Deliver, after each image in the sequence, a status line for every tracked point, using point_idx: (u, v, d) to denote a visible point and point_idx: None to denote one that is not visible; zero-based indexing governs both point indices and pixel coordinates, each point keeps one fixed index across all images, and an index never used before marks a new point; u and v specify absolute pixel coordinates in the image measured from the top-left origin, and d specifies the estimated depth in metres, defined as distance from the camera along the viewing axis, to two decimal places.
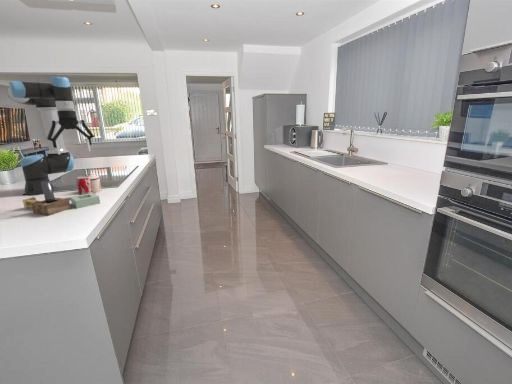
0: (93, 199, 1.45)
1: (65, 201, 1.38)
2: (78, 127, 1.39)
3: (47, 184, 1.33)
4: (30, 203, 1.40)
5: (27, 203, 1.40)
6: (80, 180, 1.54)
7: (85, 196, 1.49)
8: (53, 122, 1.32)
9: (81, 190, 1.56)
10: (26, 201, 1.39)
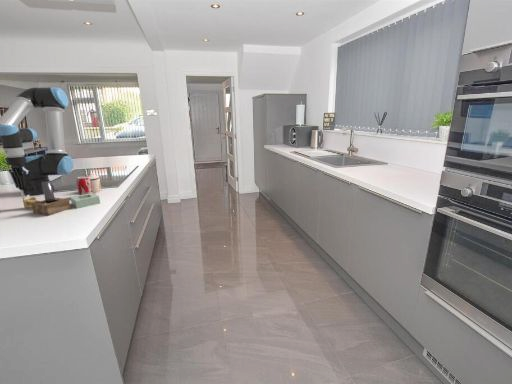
0: (93, 199, 1.45)
1: (65, 201, 1.38)
2: (18, 175, 1.36)
3: (47, 184, 1.33)
4: (30, 203, 1.40)
5: (27, 203, 1.40)
6: (80, 180, 1.54)
7: (85, 196, 1.49)
8: (9, 171, 1.39)
9: (81, 190, 1.56)
10: (26, 201, 1.39)
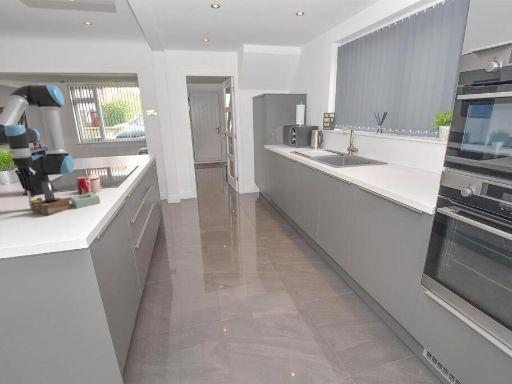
0: (93, 199, 1.45)
1: (65, 201, 1.38)
2: (25, 176, 1.35)
3: (47, 184, 1.33)
4: None
5: None
6: (80, 180, 1.54)
7: (85, 196, 1.49)
8: (15, 172, 1.37)
9: (81, 190, 1.56)
10: (32, 202, 1.38)
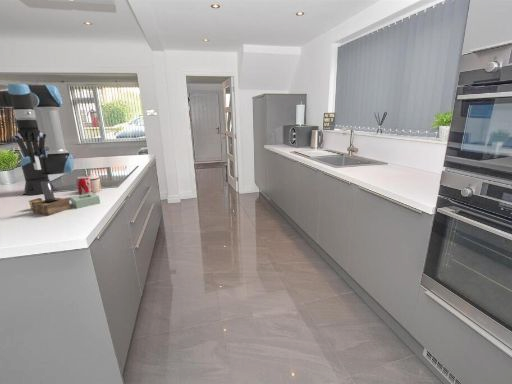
0: (93, 199, 1.45)
1: (65, 201, 1.38)
2: None
3: (47, 184, 1.32)
4: None
5: None
6: (80, 180, 1.54)
7: (85, 196, 1.49)
8: (17, 137, 1.22)
9: (81, 190, 1.56)
10: (32, 202, 1.38)
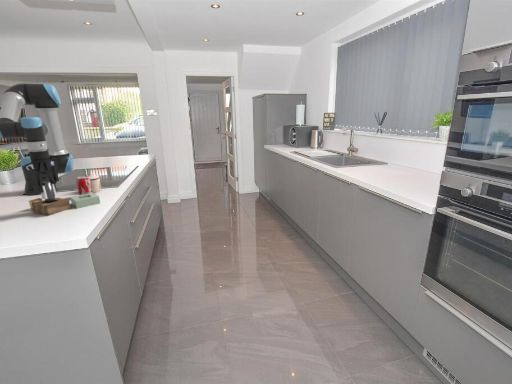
0: (93, 199, 1.45)
1: (65, 201, 1.38)
2: (50, 169, 1.33)
3: (47, 184, 1.32)
4: None
5: None
6: (80, 180, 1.54)
7: (85, 196, 1.49)
8: (30, 168, 1.25)
9: (81, 190, 1.56)
10: (32, 202, 1.38)
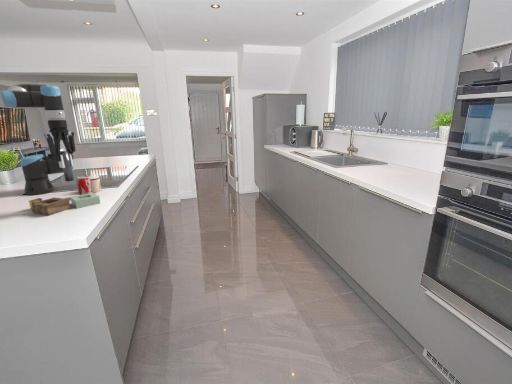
0: (93, 199, 1.45)
1: (65, 201, 1.38)
2: (67, 138, 1.36)
3: (65, 153, 1.35)
4: None
5: None
6: (80, 180, 1.54)
7: (85, 196, 1.49)
8: (49, 135, 1.28)
9: (81, 190, 1.56)
10: (32, 202, 1.38)
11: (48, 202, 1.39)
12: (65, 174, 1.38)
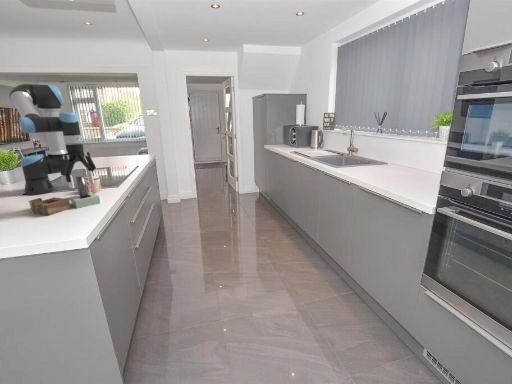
0: (93, 199, 1.45)
1: (65, 201, 1.38)
2: (85, 159, 1.44)
3: (81, 178, 1.43)
4: None
5: None
6: None
7: None
8: (66, 157, 1.34)
9: None
10: (32, 202, 1.38)
11: (48, 202, 1.39)
12: None
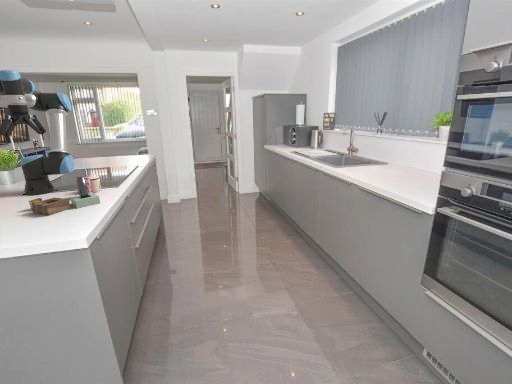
0: (93, 199, 1.45)
1: (65, 201, 1.38)
2: (31, 122, 1.38)
3: (82, 179, 1.43)
4: None
5: None
6: None
7: None
8: (6, 116, 1.28)
9: None
10: (32, 202, 1.38)
11: (48, 202, 1.39)
12: None
